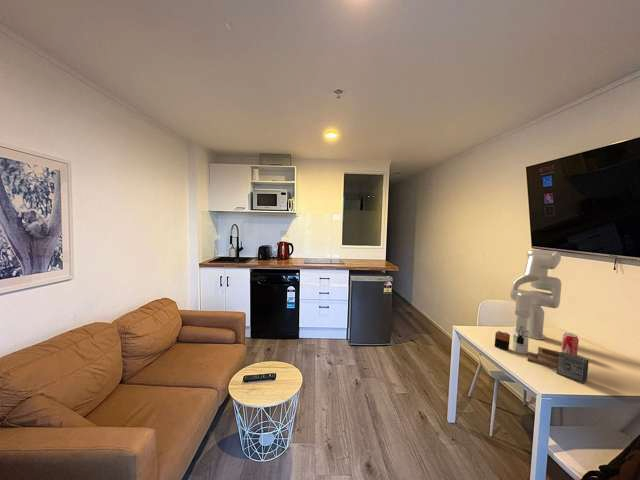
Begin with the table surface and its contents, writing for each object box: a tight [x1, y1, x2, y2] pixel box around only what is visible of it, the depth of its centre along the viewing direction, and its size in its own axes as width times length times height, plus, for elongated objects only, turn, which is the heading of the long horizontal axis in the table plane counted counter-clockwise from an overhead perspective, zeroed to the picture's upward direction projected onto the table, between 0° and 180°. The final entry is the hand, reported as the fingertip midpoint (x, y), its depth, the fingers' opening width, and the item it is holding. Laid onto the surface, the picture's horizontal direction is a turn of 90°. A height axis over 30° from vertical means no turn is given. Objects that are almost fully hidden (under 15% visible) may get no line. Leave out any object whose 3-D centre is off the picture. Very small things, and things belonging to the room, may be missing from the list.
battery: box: [494, 330, 511, 351], centre depth 167 cm, size 4×7×10 cm, turn 42°
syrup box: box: [512, 325, 530, 355], centre depth 163 cm, size 6×6×14 cm
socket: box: [527, 346, 562, 370], centre depth 150 cm, size 11×20×6 cm, turn 51°
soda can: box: [561, 332, 580, 356], centre depth 161 cm, size 7×7×12 cm
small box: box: [555, 351, 589, 384], centre depth 136 cm, size 11×6×10 cm, turn 33°
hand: (520, 341), depth 163 cm, fingers open, 9 cm apart
